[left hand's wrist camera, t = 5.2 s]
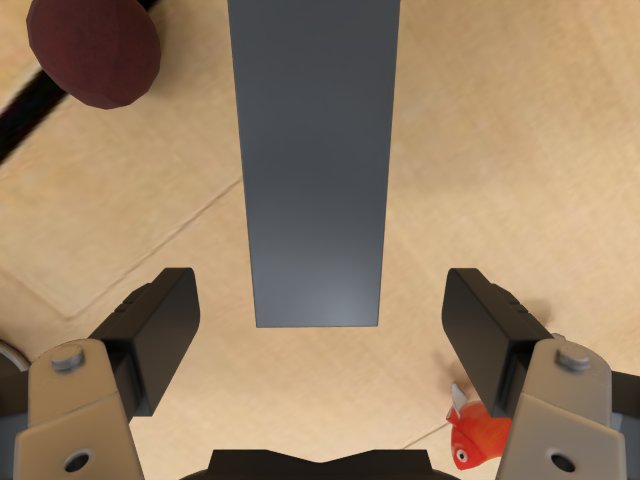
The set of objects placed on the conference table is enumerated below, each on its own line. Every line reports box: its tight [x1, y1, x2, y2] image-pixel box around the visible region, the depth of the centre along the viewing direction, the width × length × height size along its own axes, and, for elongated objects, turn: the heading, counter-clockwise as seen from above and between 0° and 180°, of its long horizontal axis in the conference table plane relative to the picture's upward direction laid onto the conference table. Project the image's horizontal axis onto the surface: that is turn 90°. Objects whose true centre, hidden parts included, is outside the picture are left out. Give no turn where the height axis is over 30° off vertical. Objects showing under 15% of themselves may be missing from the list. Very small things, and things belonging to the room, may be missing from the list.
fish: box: [446, 333, 566, 470], centre depth 34 cm, size 11×16×10 cm
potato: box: [26, 0, 161, 110], centre depth 23 cm, size 7×8×7 cm
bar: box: [228, 0, 400, 328], centre depth 14 cm, size 25×5×8 cm, turn 0°
